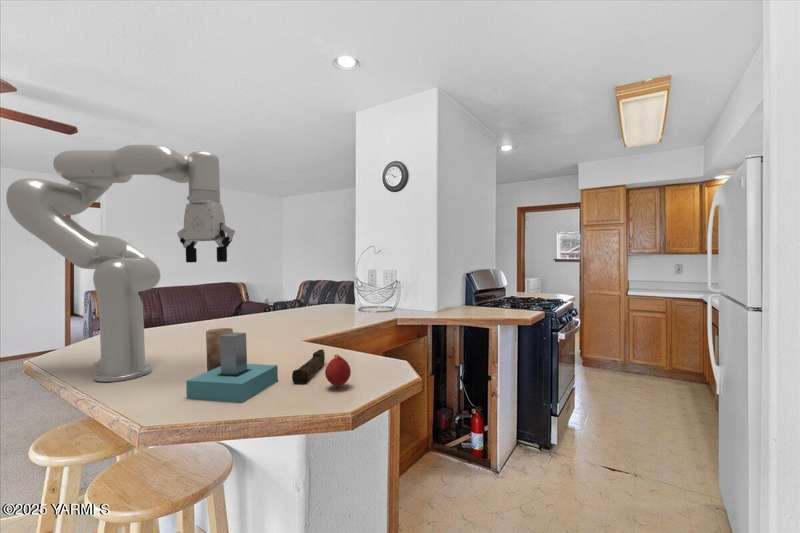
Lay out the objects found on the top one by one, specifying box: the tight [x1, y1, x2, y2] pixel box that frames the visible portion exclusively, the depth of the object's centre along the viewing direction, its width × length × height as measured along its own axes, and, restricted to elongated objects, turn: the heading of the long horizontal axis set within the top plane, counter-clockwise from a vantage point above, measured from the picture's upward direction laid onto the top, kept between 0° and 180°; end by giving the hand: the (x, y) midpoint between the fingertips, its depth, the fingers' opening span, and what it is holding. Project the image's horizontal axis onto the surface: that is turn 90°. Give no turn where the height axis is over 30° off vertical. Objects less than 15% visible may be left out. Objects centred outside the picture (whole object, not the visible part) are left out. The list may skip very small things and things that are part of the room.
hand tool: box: [291, 348, 326, 385], centre depth 99 cm, size 19×4×5 cm, turn 172°
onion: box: [324, 353, 352, 389], centre depth 87 cm, size 6×6×8 cm
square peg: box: [220, 331, 248, 377], centre depth 87 cm, size 4×4×12 cm
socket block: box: [185, 363, 279, 403], centre depth 87 cm, size 14×14×4 cm
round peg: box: [205, 327, 234, 372], centre depth 98 cm, size 6×6×12 cm
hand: (206, 262), depth 101 cm, fingers open, 9 cm apart
